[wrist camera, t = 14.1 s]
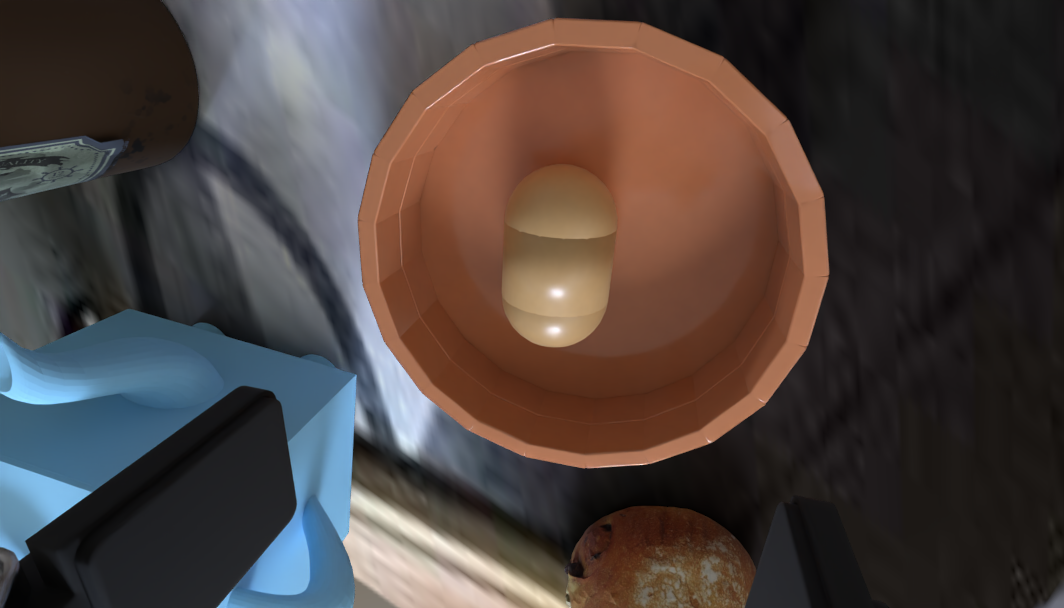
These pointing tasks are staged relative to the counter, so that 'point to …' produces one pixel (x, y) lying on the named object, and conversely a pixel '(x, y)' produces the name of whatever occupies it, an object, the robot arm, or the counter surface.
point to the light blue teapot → (158, 412)
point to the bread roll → (658, 562)
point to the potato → (558, 255)
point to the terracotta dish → (640, 249)
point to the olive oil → (90, 91)
